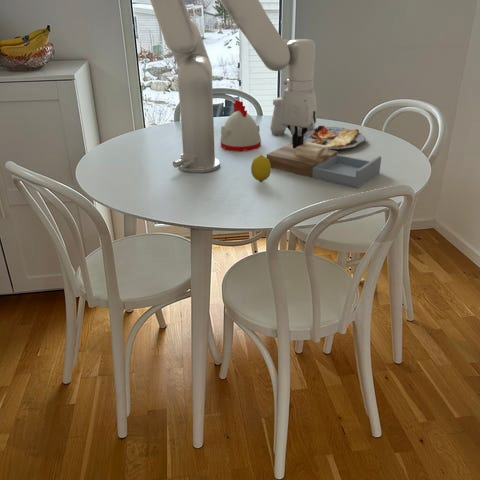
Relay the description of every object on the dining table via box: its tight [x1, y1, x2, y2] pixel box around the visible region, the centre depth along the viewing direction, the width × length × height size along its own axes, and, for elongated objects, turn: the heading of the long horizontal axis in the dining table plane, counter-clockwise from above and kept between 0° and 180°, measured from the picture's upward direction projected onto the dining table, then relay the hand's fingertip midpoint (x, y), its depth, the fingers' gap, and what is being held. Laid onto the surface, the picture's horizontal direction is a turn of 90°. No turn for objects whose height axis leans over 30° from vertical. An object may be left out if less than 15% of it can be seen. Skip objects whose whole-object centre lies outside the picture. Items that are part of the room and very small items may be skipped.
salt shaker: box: [270, 97, 287, 136], centre depth 181 cm, size 6×6×13 cm
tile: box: [295, 142, 329, 160], centre depth 148 cm, size 7×7×2 cm
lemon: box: [250, 154, 272, 183], centre depth 139 cm, size 6×6×8 cm
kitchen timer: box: [220, 99, 262, 152], centre depth 169 cm, size 14×14×15 cm
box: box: [312, 153, 382, 189], centre depth 144 cm, size 15×14×5 cm
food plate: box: [303, 124, 367, 151], centre depth 174 cm, size 25×23×4 cm
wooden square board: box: [266, 142, 338, 179], centre depth 152 cm, size 15×16×4 cm
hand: (297, 147), depth 151 cm, fingers closed
